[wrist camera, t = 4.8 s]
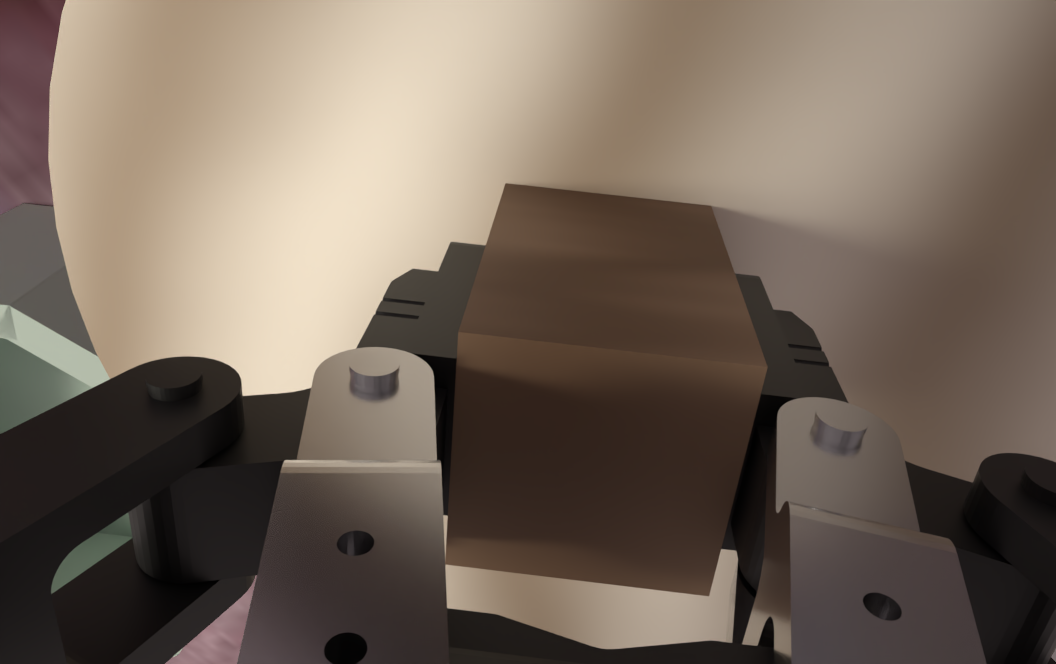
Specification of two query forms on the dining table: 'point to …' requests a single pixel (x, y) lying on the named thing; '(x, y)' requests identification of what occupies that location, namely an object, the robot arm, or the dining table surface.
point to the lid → (582, 242)
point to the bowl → (45, 348)
